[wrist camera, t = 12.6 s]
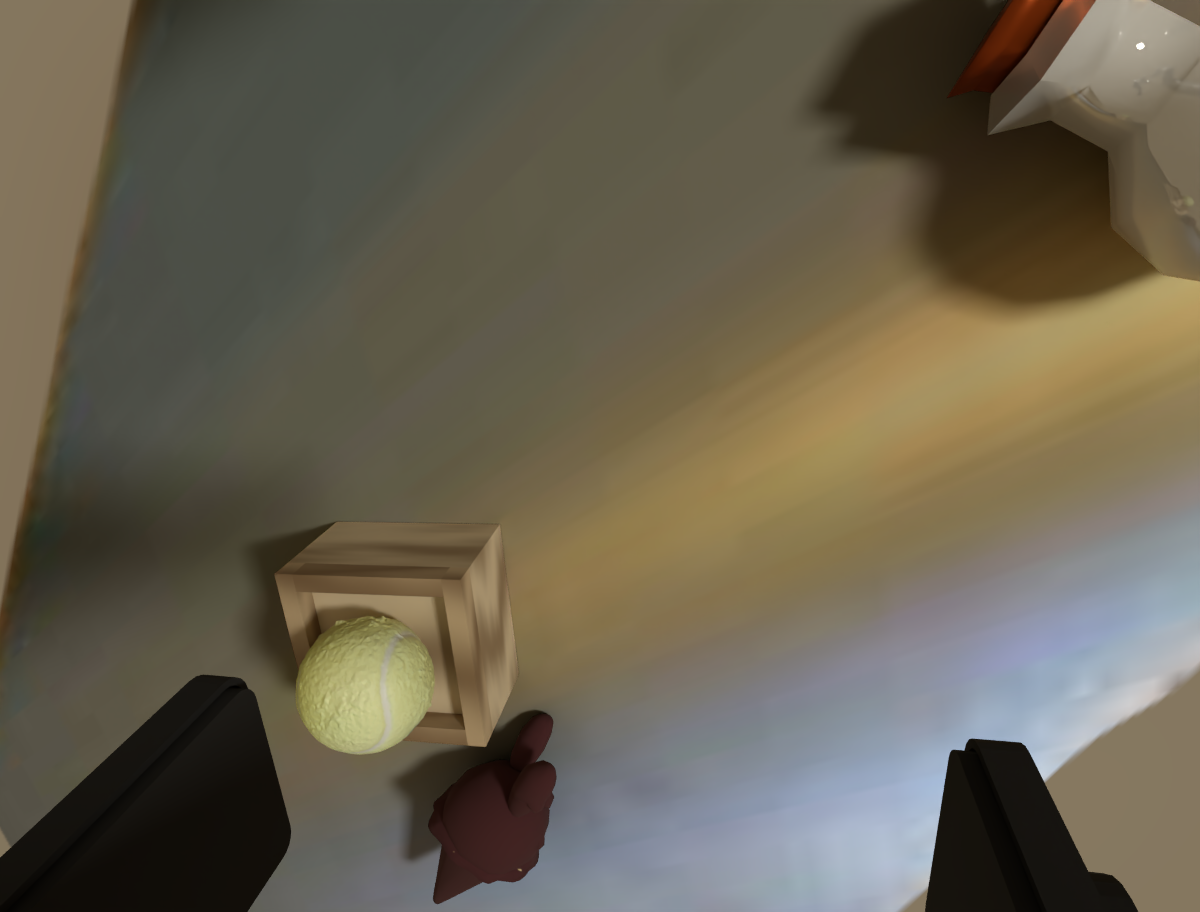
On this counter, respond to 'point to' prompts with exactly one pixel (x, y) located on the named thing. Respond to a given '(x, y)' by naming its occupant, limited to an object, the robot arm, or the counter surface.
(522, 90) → the counter surface
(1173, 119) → the potion bottle
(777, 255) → the counter surface
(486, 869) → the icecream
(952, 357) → the counter surface
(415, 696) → the tennis ball
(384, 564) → the wooden box
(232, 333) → the counter surface
